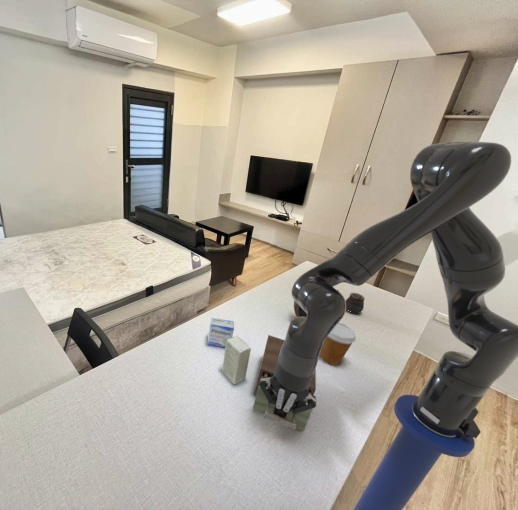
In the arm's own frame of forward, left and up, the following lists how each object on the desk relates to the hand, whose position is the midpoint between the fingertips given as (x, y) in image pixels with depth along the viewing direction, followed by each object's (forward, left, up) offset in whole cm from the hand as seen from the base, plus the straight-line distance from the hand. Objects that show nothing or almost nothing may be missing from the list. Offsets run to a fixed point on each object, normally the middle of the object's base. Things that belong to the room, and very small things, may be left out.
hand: (278, 417), depth 67 cm
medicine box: (+22, -24, -5) cm, 33 cm away
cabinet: (0, -16, -4) cm, 17 cm away
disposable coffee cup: (-14, -36, -5) cm, 39 cm away
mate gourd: (-25, -75, -5) cm, 79 cm away
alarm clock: (-7, -53, -5) cm, 54 cm away
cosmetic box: (+14, -12, -5) cm, 19 cm away
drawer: (0, -7, -4) cm, 8 cm away
